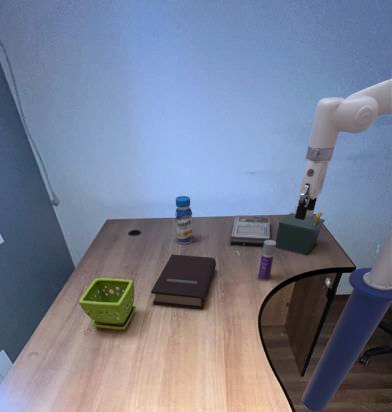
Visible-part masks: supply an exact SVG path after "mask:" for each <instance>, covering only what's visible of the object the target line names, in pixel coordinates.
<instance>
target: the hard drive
mask: <svg viewBox="0 0 392 412" xmlns="http://www.w3.org/2000/svg"><path fill="white" fill-rule="evenodd" d="M270 221H271V219H270V216H260V215H257V216H256V215H235V216H234V222H233V226H232V232H231V238H230V246H239V247H254V248H255V247H256V248H257V247H259V248H263V246H264V241H266V240H271V224H270V223H271V222H270Z"/></svg>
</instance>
